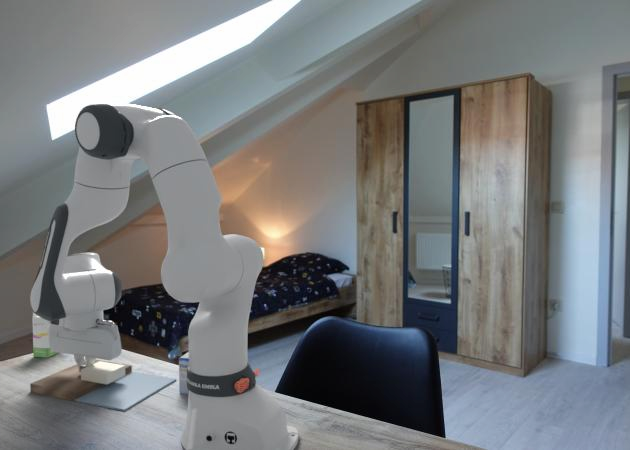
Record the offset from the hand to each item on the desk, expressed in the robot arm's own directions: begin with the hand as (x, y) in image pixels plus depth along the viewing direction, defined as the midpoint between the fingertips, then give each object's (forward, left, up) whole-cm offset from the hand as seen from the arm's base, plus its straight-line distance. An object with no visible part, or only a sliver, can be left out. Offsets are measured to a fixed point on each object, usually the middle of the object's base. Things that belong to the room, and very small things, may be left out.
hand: (85, 372), depth 118 cm
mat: (-13, 0, -3) cm, 13 cm away
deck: (+1, 0, -3) cm, 3 cm away
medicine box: (-27, -7, -3) cm, 28 cm away
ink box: (+27, -13, -3) cm, 30 cm away
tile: (-5, 0, -1) cm, 6 cm away
